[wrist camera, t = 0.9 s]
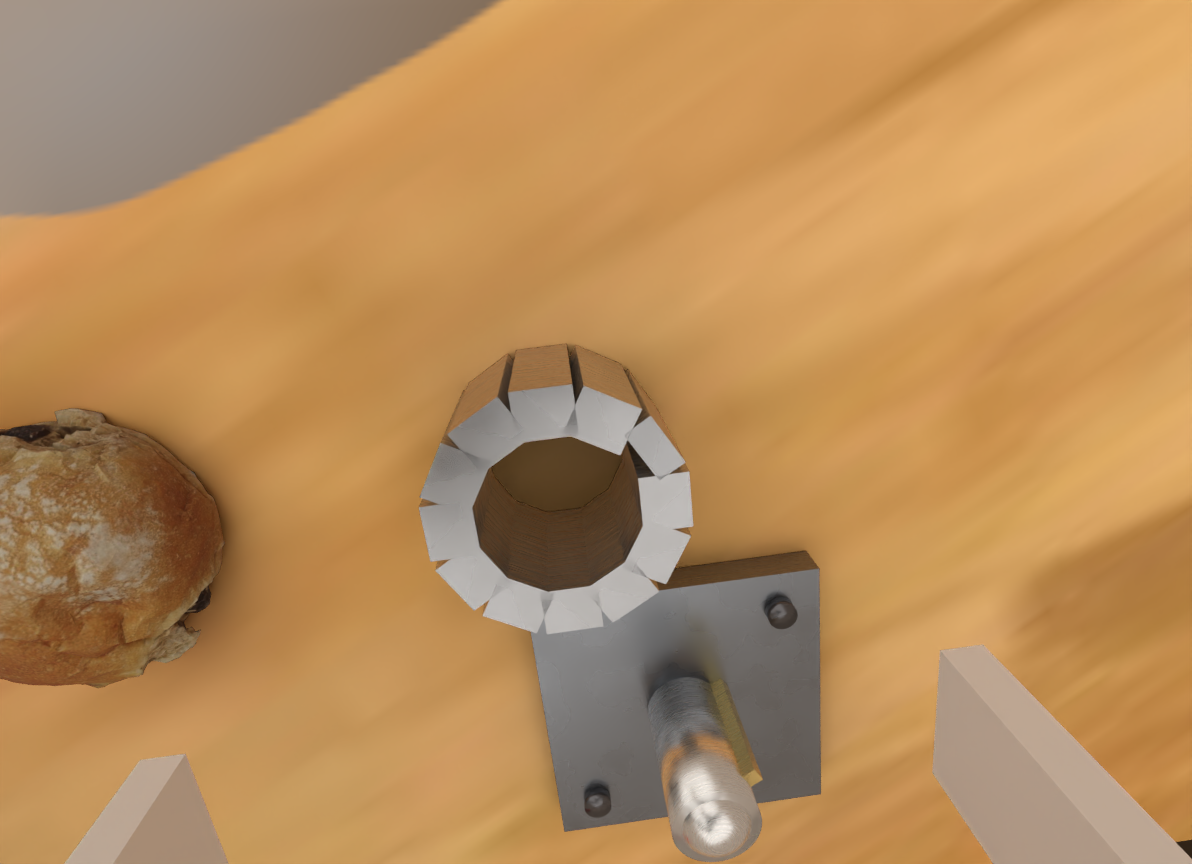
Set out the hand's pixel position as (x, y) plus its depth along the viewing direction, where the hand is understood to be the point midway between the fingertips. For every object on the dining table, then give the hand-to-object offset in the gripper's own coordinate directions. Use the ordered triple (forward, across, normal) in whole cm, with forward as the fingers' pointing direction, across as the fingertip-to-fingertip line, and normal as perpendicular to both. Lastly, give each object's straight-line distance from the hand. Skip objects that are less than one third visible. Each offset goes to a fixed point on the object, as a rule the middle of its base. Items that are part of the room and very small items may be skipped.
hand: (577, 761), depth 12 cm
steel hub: (+16, 0, 0) cm, 16 cm away
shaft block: (+16, +4, -12) cm, 20 cm away
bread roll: (+16, -18, -1) cm, 24 cm away
